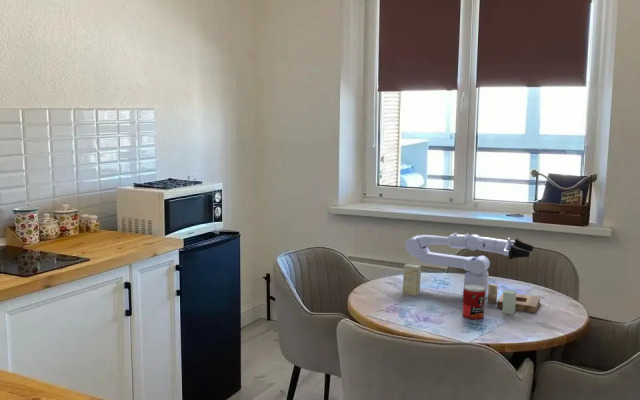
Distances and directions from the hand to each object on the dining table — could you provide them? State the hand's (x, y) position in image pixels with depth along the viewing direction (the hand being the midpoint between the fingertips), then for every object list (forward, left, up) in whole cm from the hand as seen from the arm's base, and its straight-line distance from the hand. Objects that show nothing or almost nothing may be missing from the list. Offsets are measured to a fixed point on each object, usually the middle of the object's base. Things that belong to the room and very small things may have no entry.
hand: (531, 251), depth 240 cm
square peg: (-5, -17, -21) cm, 27 cm away
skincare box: (-45, -11, -21) cm, 51 cm away
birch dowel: (-13, -7, -21) cm, 25 cm away
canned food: (-16, -28, -21) cm, 39 cm away
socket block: (-3, -6, -21) cm, 22 cm away
